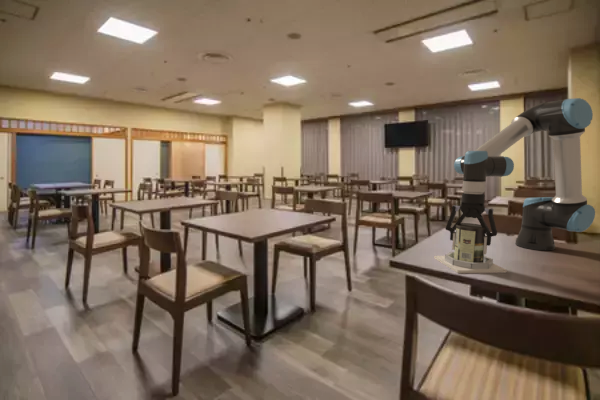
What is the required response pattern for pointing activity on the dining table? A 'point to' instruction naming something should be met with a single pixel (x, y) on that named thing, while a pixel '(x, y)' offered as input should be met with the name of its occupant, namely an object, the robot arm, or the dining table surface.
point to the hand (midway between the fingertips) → (469, 251)
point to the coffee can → (469, 242)
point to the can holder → (469, 265)
